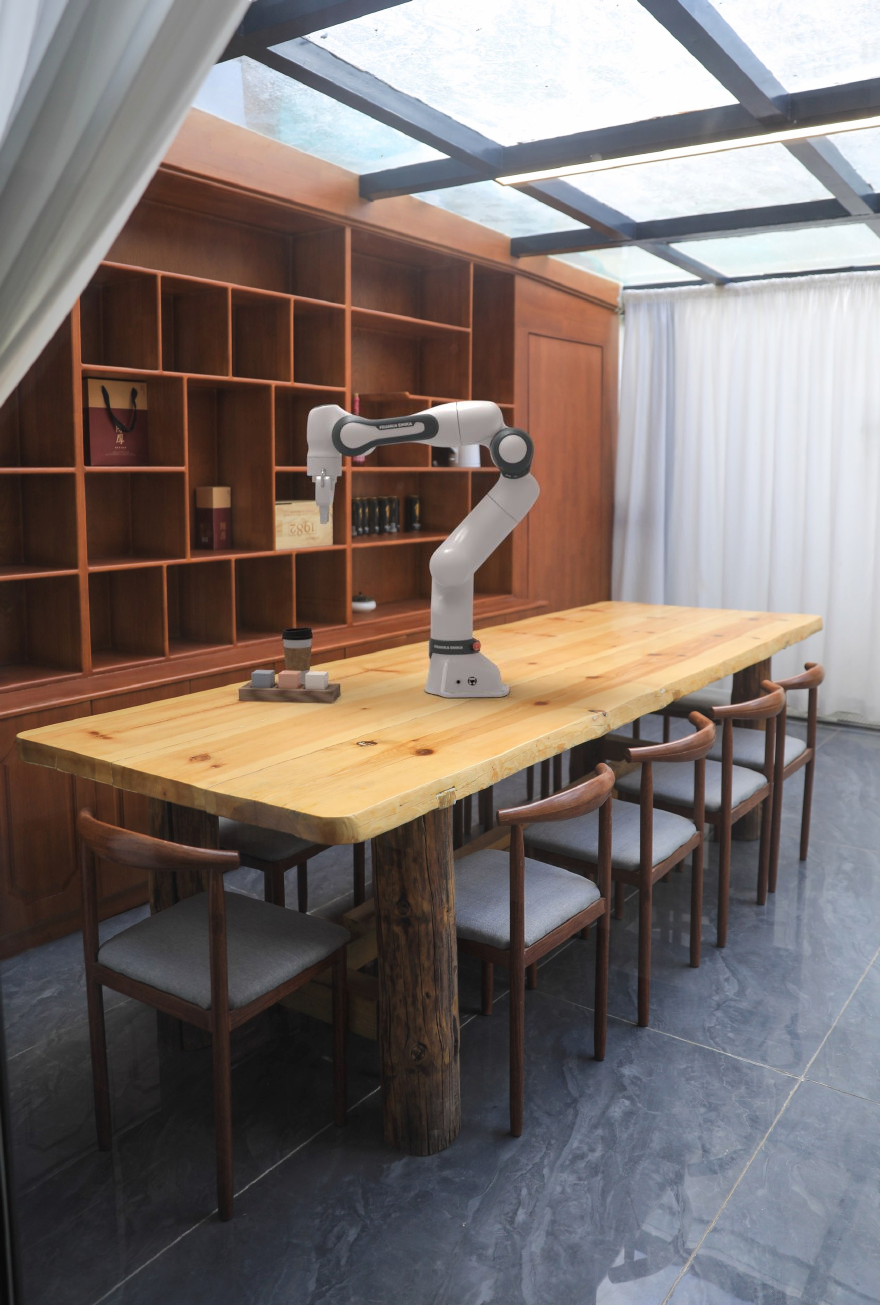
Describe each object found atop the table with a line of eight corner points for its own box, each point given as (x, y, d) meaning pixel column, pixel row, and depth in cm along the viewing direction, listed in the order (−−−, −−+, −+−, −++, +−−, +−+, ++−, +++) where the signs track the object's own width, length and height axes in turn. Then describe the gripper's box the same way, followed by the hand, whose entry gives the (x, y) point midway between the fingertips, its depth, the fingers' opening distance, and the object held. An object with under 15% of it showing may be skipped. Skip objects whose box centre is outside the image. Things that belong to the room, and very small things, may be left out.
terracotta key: (301, 686, 262) (301, 670, 262) (297, 689, 257) (296, 674, 257) (283, 685, 263) (283, 670, 262) (278, 689, 258) (278, 673, 257)
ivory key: (328, 686, 261) (328, 671, 261) (324, 690, 257) (323, 675, 256) (310, 686, 262) (309, 671, 261) (305, 690, 257) (305, 674, 257)
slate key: (275, 685, 263) (274, 670, 262) (270, 689, 258) (269, 673, 258) (257, 684, 263) (256, 669, 263) (251, 688, 259) (251, 673, 258)
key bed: (340, 694, 264) (340, 683, 264) (332, 703, 254) (332, 691, 254) (250, 692, 267) (250, 681, 266) (238, 700, 257) (238, 688, 256)
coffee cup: (307, 685, 276) (306, 631, 273) (278, 684, 277) (277, 630, 275) (317, 680, 284) (316, 626, 281) (288, 678, 285) (287, 625, 283)
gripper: (335, 468, 252) (335, 525, 254) (337, 469, 272) (337, 521, 274) (309, 468, 252) (310, 524, 254) (314, 469, 272) (314, 521, 274)
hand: (324, 523), depth 264 cm, fingers open, 8 cm apart
